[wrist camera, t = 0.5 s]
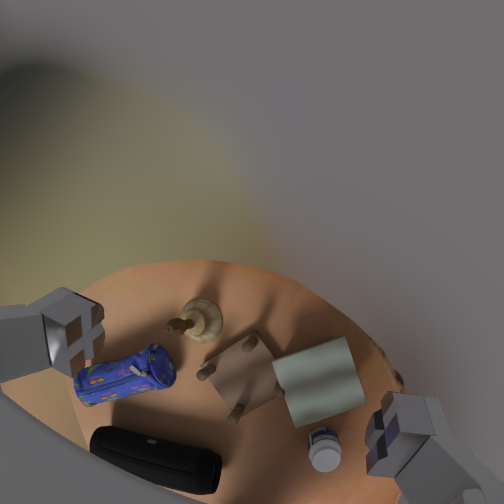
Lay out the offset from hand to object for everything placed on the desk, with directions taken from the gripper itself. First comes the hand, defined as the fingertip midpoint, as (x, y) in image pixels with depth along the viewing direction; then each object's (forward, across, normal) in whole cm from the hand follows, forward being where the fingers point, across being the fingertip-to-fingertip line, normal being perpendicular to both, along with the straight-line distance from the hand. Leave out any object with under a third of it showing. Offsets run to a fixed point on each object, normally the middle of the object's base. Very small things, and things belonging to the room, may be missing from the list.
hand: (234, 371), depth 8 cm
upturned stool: (+40, -2, -33) cm, 52 cm away
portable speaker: (+31, -14, -54) cm, 64 cm away
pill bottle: (+36, +15, -41) cm, 56 cm away
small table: (+41, +10, -30) cm, 52 cm away
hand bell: (+44, -13, -27) cm, 53 cm away
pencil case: (+38, -24, -41) cm, 61 cm away
